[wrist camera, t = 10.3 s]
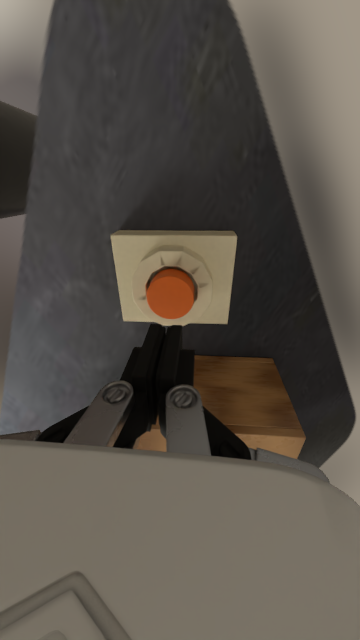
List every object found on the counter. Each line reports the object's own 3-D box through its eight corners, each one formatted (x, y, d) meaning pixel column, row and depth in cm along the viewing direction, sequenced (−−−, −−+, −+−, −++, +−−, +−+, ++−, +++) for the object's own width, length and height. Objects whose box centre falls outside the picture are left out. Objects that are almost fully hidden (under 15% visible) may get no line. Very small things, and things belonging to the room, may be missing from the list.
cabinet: (152, 422, 34) (137, 500, 25) (144, 353, 27) (121, 427, 19) (255, 427, 33) (274, 510, 24) (272, 358, 26) (306, 438, 18)
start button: (151, 308, 20) (148, 319, 19) (148, 267, 18) (144, 275, 17) (193, 309, 20) (193, 320, 18) (195, 268, 18) (194, 276, 16)
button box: (129, 310, 24) (117, 331, 21) (118, 230, 20) (102, 239, 17) (225, 313, 24) (229, 335, 20) (233, 230, 20) (241, 240, 16)
